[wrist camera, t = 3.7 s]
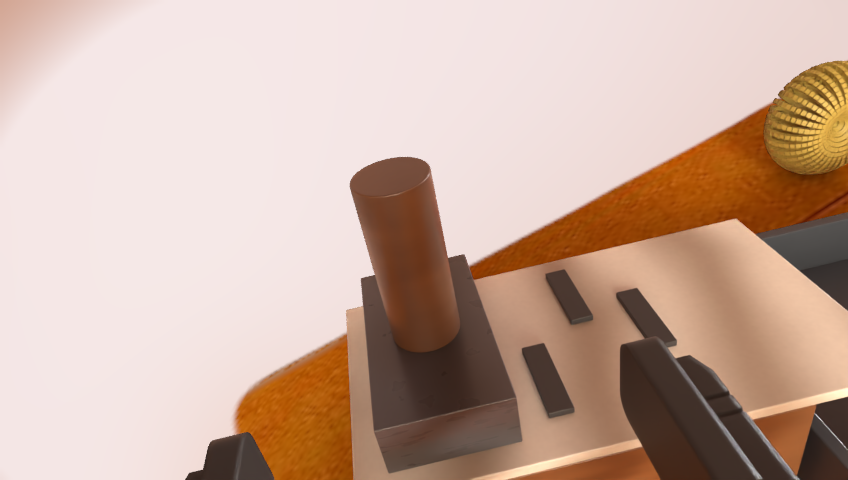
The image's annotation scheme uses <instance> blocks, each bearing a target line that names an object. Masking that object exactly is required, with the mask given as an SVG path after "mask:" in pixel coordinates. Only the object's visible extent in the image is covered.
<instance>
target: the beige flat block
mask: <svg viewBox="0 0 848 480" xmlns="http://www.w3.org/2000/svg"><path fill="white" fill-rule="evenodd" d="M563 269H565V270H566V272H567V273H568V275H569V277H570V278H571V280H572V282H573V283H574V285H575V286H576V288H577V290H578V291H579V293H580V295H581V296H582V298H583V300H584V301H585V303H586V304H587V306H588V308H589V309H590V311H591V313H592V314H593V320H591V321H587V322H583V323H578V324H574V325H571V323H570V321H569V319H568V318H567V316H566V314H565V312H564V310H563V308H562V307H561V305H560V303H559V301H558V299H557V298H556V296H555V294H554V292H553V290H552V288H551V287H550V285H549V283H548V281H547V279H546V275H545V274H546V273H550V272H554V271H559V270H563ZM474 282H475V285H476V288H477V290H478V293H479V296H480V298H481V301H482V304H483V307H484V309H485V312H486V315H487V318H488V320H489V323H490V326H491V329H492V331H493V334H494V337H495V339H496V342H497V345H498V348H499V350H500V353H501V356H502V359H503V361H504V364H505V367H506V370H507V372H508V375H509V378H510V380H511V383H512V386H513V389H514V391H515V394H516V397H517V404H518V411H519V418H520V425H521V433H522V442H518V443H514V444H510V445H506V446H501V447H497V448H493V449H489V450H485V451H481V452H477V453H472V454H468V455H464V456H460V457H456V458H452V459H448V460H443V461H439V462H435V463H431V464H427V465H423V466H419V467H414V468H410V469H406V470H402V471H398V472H394V473H388V471H387V468H386V465H385V462H384V459H383V456H382V454H381V451H380V448H379V445H378V442H377V439H376V437H375V434H374V429H373V417H372V405H371V393H370V381H369V370H368V358H367V346H366V334H365V322H364V310H363V306H362V307H357V308H353V309H349V310H347V311H346V316H347V340H348V363H349V386H350V409H351V432H352V455H353V478H354V480H661V479H660V477H659V475H658V474H657V472H656V470H655V468H654V466H653V465H652V463H651V461H650V459H649V457H648V456H647V454H646V452H645V450H644V448H643V447H642V445H641V443H640V441H639V439H638V438H637V436H636V434H635V432H634V430H633V429H632V427H631V425H630V423H629V421H628V419H627V417H626V415H625V412H624V409H623V406H622V402H621V397H620V347H621V345H622V344H625V343H629V342H633V341H637V340H642V339H645V338H644V337H643V335H642V334H641V332H640V331H639V329H638V328H637V327H636V325H635V324H634V322H633V321H632V319H631V318H630V316H629V315H628V314H627V312H626V311H625V309H624V308H623V306H622V305H621V303H620V302H619V301H618V299H617V298H616V293H617V292H621V291H625V290H629V289H634V288H638V290H639V291H640V292H641V293H642V295H643V296H644V297H645V299H646V300H647V301H648V303H649V304H650V305H651V307H652V308H653V309H654V311H655V312H656V313H657V314H658V316H659V317H660V318H661V320H662V321H663V322H664V324H665V325H666V326H667V328H668V329H669V330H670V332H671V333H672V334H673V336H674V337H675V338H676V339H677V345H676V346H672V347H668V349H669V350H670V352H671V353H672V354H673V356H674V357H675V358H678V357H682V356H687V355H691V356H692V357H694V358H695V359H697V360H698V361H700V362H701V363H703V364H704V365H706V366H708V367H709V368H711V369H712V370H713V371H714V372H715V373H716V374H717V376H718V377H719V378H720V379H721V381H722V382H723V383H724V385H725V386H726V387H727V388H728V390H729V392H730V394H731V395H733V396H734V397H735V399H736V400H737V401H738V402H739V404H740V405H741V406H742V408H743V411H744V412H746V413H747V414H748V415H749V416H750V418H751V419H752V420H753V421H754V423H755V424H756V425H757V427H758V428H759V429H760V430H761V432H762V433H763V434H764V435H765V437H766V438H767V439H768V441H769V442H770V443H771V444H772V446H773V447H774V448H775V449H776V451H777V452H778V453H779V455H780V456H781V457H782V458H783V460H784V461H785V462H786V463H787V465H788V466H789V467H790V469H791V470H792V471H793V472H794V474H795V475H796V476H797V474H798V470H799V466H800V463H801V459H802V456H803V452H804V449H805V445H806V441H807V438H808V434H809V431H810V427H811V424H812V420H813V416H814V413H815V409H816V406H817V405H816V404H819V403H823V402H827V401H831V400H836V399H840V398H844V397H848V311H847V310H846V309H845V308H843V307H842V306H841V305H840V304H839V303H837V302H836V301H835V300H834V299H832V298H831V297H830V296H829V295H828V294H826V293H825V292H824V291H823V290H822V289H820V288H819V287H818V286H817V285H816V284H814V283H813V282H812V281H811V280H810V279H808V278H807V277H806V276H805V275H804V274H802V273H801V272H800V271H799V270H797V269H796V268H795V267H794V266H793V265H791V264H790V263H789V262H788V261H787V260H785V259H784V258H783V257H782V256H781V255H779V254H778V253H777V252H776V251H775V250H773V249H772V248H771V247H770V246H768V245H767V244H766V243H765V242H764V241H762V240H761V239H760V238H759V237H758V236H756V235H755V234H754V233H753V232H752V231H750V230H749V229H748V228H747V227H746V226H744V225H743V224H742V223H741V222H739V221H738V220H737V219H732V220H728V221H723V222H719V223H715V224H711V225H706V226H702V227H698V228H694V229H689V230H685V231H681V232H677V233H672V234H668V235H664V236H660V237H655V238H651V239H647V240H643V241H638V242H634V243H630V244H626V245H621V246H617V247H613V248H609V249H604V250H600V251H596V252H592V253H587V254H583V255H579V256H575V257H570V258H566V259H562V260H557V261H553V262H549V263H545V264H540V265H536V266H532V267H528V268H523V269H519V270H515V271H511V272H506V273H502V274H498V275H494V276H489V277H485V278H481V279H477V280H474ZM541 343H545V346H546V348H547V350H548V352H549V354H550V356H551V358H552V360H553V363H554V365H555V367H556V369H557V371H558V373H559V375H560V378H561V380H562V382H563V384H564V386H565V388H566V390H567V392H568V395H569V397H570V399H571V401H572V403H573V405H574V408H575V412H574V413H570V414H566V415H562V416H558V417H554V418H549V417H548V415H547V412H546V410H545V407H544V405H543V402H542V400H541V398H540V395H539V393H538V390H537V388H536V385H535V383H534V381H533V378H532V376H531V373H530V371H529V368H528V366H527V364H526V361H525V359H524V356H523V354H522V348H524V347H528V346H532V345H536V344H541Z"/></svg>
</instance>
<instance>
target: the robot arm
mask: <svg viewBox="0 0 848 480" xmlns="http://www.w3.org/2000/svg"><path fill="white" fill-rule="evenodd" d="M620 397H621V402H622V406H623V409H624V412H625V415H626V417H627V419H628V421H629V423H630V425H631V427H632V429H633V430H634V432H635V434H636V436H637V438H638V439H639V441H640V443H641V445H642V447H643V448H644V450H645V452H646V454H647V456H648V457H649V459H650V461H651V463H652V465H653V466H654V468H655V470H656V472H657V474H658V475H659V477H660V479H661V480H800V479H799V478H798V477H797V476H796V475H795V474H794V472H793V471H792V470H791V469H790V467H789V466H788V465H787V463H786V462H785V461H784V460H783V458H782V457H781V456H780V455H779V453H778V452H777V451H776V449H775V448H774V447H773V446H772V444H771V443H770V442H769V441H768V439H767V438H766V437H765V435H764V434H763V433H762V432H761V430H760V429H759V428H758V427H757V425H756V424H755V423H754V421H753V420H752V419H751V418H750V416H749V415H748V414H747V413H746V412H744V411H743V408H742V406H741V405H740V404H739V402H738V401H737V400H736V399H735V397H734V396H733V395H731V394H730V392H729V390H728V388H727V387H726V386H725V385H724V383H723V382H722V381H721V379H720V378H719V377H718V376H717V374H716V373H715V372H714V371H713V370H712V369H711V368H709V367H708V366H706V365H704V364H703V363H701V362H700V361H698V360H697V359H695V358H694V357H692V356H691V355H687V356H682V357H678V358H675V357H674V356H673V354H672V353H671V352H670V350H669V349H668V348H667V346H666V345H665V343H664V342H663V341H662V340H661V339H660V338H659V337H657V336H654V337H650V338H646V339H642V340H637V341H633V342H629V343H625V344H622V345H621V347H620ZM185 480H274V477H273V474H272V472H271V470H270V468H269V467H268V465H267V463H266V461H265V459H264V457H263V455H262V453H261V452H260V450H259V448H258V446H257V444H256V442H255V440H254V438H253V437H252V435H251V434H250V433H249V432H246V433H242V434H237V435H233V436H229V437H225V438H221V439H217V440H213V441H212V442H210V444H209V446H208V450H207V454H206V459H205V464H204V468H203V470H200V471H196V472H192V473H189V474H188V476H187V478H186V479H185Z"/></svg>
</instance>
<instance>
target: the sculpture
mask: <svg viewBox="0 0 848 480" xmlns="http://www.w3.org/2000/svg"><path fill="white" fill-rule="evenodd" d="M823 86H824V87H823ZM778 96H779V97H780V98H782V99H783V100H784V101H782V100H780V99H777V98H775V99H774V101H773V103H775V104H777V105H772V106H770V108H769V110H768V111H769V113H768V114H767V115H766V116H767V117H766V121H765V123H764V124H765V125H764V140H765V142H764V143H765V145H766V147H767V148H766V149H767V151H768V153H769V154H770V156H771V158H772V159H773V160H774V161H775V162H776V163H777V164H778V165H780V166H781V167H782V168H785V169H786V170H789V171H790V172H793V173H794V172H796V173H798V174H804V175H805V174H808V175H810V174H812V175H815V174H818V173H819V174H821V173H826V172H829V171H831V170H835V169H837V168H839V167H842V166H844V165H845V164H847V163H848V61H833V62H827V63H823V64H820V65H818V66H814V67H811V68H810V69H808V70H806V71H804V72H802V73H800V74H799V76H797V77H795V78H794V79H792V80H791V82H790V83H788V84H787V85H786V86H785V87H784V90H782V91H780V92H779V94H778ZM785 101H786V102H785ZM789 141H790V142H789ZM815 154H816V155H815Z"/></svg>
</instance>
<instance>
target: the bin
mask: <svg viewBox="0 0 848 480" xmlns="http://www.w3.org/2000/svg"><path fill="white" fill-rule="evenodd" d="M755 235H756V236H758V237H759V238H760V239H761V240H762V241H764V242H765V243H766V244H767V245H768V246H770V247H771V248H772V249H773V250H775V251H776V252H777V253H778V254H779V255H781V256H782V257H783V258H784V259H785V260H787V261H788V262H789V263H790V264H791V265H793V266H794V267H795V268H796V269H797V270H799V271H800V272H801V273H802V274H804V275H805V276H806V277H807V278H808V279H810V280H811V281H812V282H813V283H814V284H816V285H817V286H818V287H819V288H820V289H822V290H823V291H824V292H825V293H826V294H828V295H829V296H830V297H831V298H832V299H834V300H835V301H836V302H837V303H839V304H840V305H841V306H842V307H843V308H845V309H846V310H847V311H848V212H847V213H842V214H838V215H834V216H830V217H826V218H821V219H817V220H813V221H809V222H804V223H800V224H796V225H792V226H787V227H783V228H779V229H775V230H770V231H766V232H762V233H758V234H755ZM816 405H817V406H816V409H815V413H814V416H813V420H812V424H811V427H810V431H809V434H808V438H807V441H806V445H805V449H804V452H803V456H802V459H801V463H800V466H799V470H798V474H797V477H798V478H799V479H800V480H848V397H844V398H840V399H836V400H831V401H827V402H823V403H819V404H816Z"/></svg>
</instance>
